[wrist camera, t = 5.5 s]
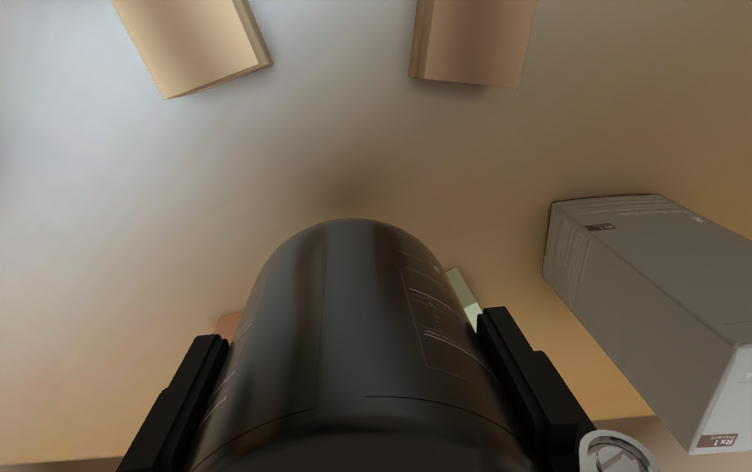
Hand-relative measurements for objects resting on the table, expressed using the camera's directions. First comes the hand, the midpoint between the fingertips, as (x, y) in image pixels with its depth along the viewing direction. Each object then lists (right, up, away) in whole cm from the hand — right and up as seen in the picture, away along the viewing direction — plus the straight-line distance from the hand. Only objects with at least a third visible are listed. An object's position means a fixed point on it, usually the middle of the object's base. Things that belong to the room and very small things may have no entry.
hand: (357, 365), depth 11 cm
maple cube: (-9, +15, +12) cm, 21 cm away
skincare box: (+17, +3, +20) cm, 26 cm away
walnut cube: (+5, +16, +13) cm, 21 cm away
